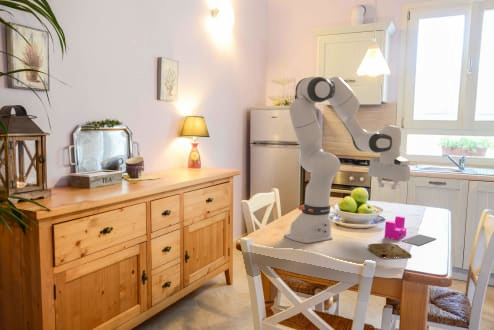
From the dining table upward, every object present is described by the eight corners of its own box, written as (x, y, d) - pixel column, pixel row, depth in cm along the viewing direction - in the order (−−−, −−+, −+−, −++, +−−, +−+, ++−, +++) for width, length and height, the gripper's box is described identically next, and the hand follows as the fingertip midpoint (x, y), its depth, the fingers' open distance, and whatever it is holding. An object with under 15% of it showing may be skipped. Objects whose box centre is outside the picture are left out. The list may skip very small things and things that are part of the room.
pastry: (361, 254, 161) (361, 247, 160) (374, 243, 175) (374, 237, 175) (406, 264, 151) (407, 257, 151) (415, 252, 165) (416, 245, 165)
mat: (418, 246, 172) (419, 245, 172) (401, 241, 178) (401, 240, 178) (436, 239, 182) (436, 238, 182) (419, 234, 188) (419, 234, 188)
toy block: (398, 240, 179) (399, 224, 178) (384, 237, 183) (385, 221, 182) (409, 233, 191) (410, 218, 190) (395, 230, 195) (397, 215, 194)
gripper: (366, 157, 195) (364, 185, 196) (406, 162, 179) (403, 192, 181) (373, 156, 199) (371, 184, 200) (413, 161, 183) (410, 190, 185)
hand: (387, 188), depth 191 cm, fingers open, 5 cm apart
